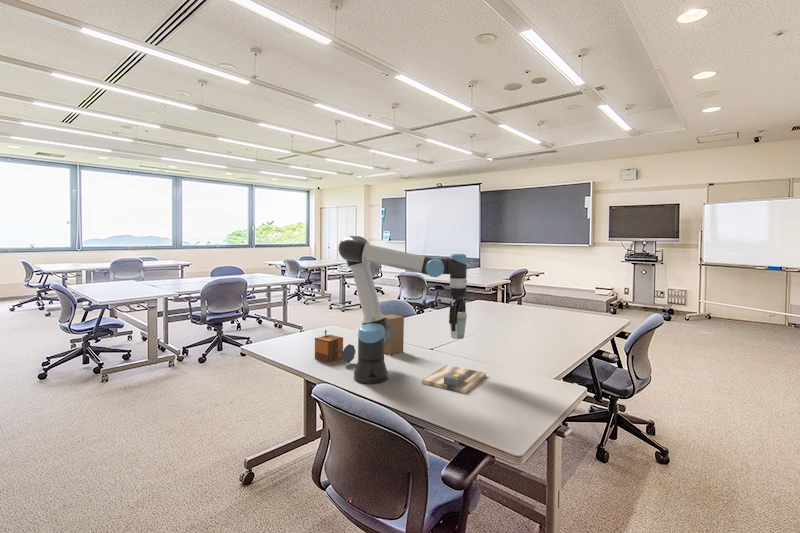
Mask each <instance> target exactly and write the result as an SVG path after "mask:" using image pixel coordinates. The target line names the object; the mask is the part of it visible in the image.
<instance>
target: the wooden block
mask: <svg viewBox="0 0 800 533" xmlns="http://www.w3.org/2000/svg"><path fill="white" fill-rule="evenodd" d="M383 315H384V316H385V317H386V321H387V323H388V325H389V326H390V329H391V336H390V339H389V340H388V342H387V343H386V344H385V346H384V352H385V353H384V354H386V353H387V354H386V355H388V354H390V355H389V356H392V355H391V354H393V355H396V354H395V353H397V354H400V353H399V352H401V353H404V338H405V336H404V334H405V333H404V332H405V331H404V330H405V317H404V316H403V315H402V316H401V315H399V314H393V313H390V314H383Z"/></svg>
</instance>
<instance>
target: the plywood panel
mask: <svg viewBox="0 0 800 533" xmlns="http://www.w3.org/2000/svg"><path fill="white" fill-rule="evenodd" d="M451 372H456V373H461V374H465V381H464V382H463V383H461V384H460V385H459V386H457V387H455V386H451V385H447V384H444V377H445V376H446V375H448V374H449V373H451ZM486 376H487V372H483V371H479V370H474V369H470V368H469V369H468V368H463V367H460V366H459V367H458V366H453V365H448V364H446V365H444V366H442V367H441V368H438V370H436V371H434V372H432V373H430V374H429V375H427V376H426V377H424V378H422V379H421V384H423V385H427V386H431V387H435V388H439V389H444V390H448V391H452V392H456V393H461V394H467V392H468V391H470V390H471V389H472V388H474V387H475V386H476V385H477V384H479V383H480V382H481V381H482V380H483V379H485V378H486Z"/></svg>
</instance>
